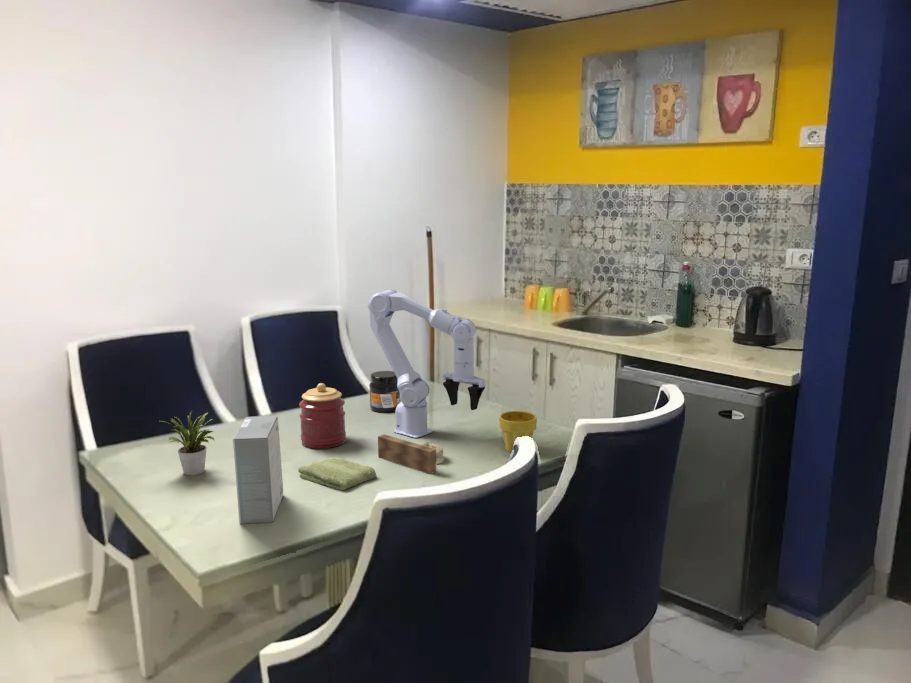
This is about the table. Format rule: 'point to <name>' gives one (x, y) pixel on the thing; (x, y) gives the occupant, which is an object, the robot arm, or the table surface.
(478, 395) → the robot arm
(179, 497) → the table surface
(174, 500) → the table surface
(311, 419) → the canister
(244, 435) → the hard drive box
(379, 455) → the walnut board
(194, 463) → the house plant
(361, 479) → the washcloth
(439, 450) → the cake
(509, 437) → the plant pot
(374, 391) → the supplement container
